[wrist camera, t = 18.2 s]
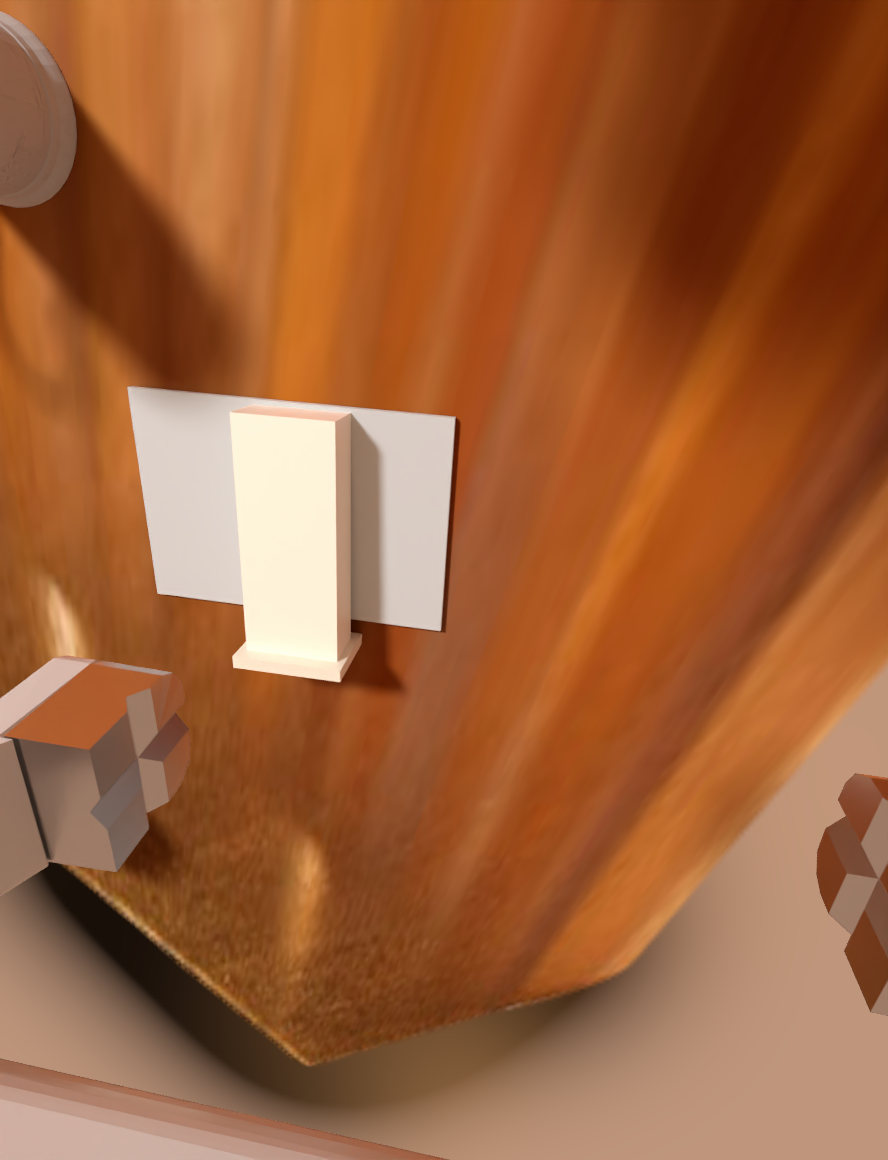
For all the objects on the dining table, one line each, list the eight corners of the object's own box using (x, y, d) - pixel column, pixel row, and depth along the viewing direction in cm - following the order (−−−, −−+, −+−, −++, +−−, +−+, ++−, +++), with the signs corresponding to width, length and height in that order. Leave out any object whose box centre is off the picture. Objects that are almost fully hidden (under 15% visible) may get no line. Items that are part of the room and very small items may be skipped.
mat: (160, 590, 46) (157, 593, 45) (131, 386, 40) (127, 387, 39) (441, 628, 44) (440, 631, 43) (456, 416, 37) (454, 418, 37)
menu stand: (340, 682, 41) (338, 425, 34) (233, 667, 41) (212, 414, 35) (361, 643, 45) (363, 410, 39) (265, 631, 46) (251, 401, 40)
